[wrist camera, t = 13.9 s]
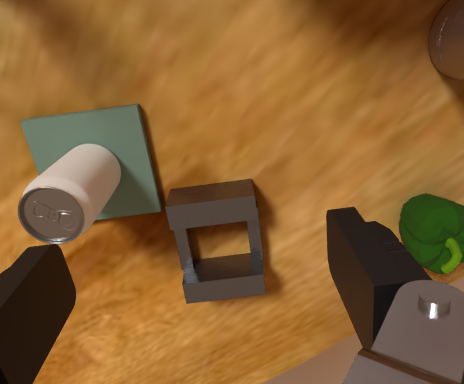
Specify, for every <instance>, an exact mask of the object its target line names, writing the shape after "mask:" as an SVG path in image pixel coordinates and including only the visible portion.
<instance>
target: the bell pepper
mask: <svg viewBox="0 0 464 384" xmlns="http://www.w3.org/2000/svg"><path fill="white" fill-rule="evenodd" d="M400 216H401V219H400V221H399V232H400V235H401V239H402V241H403V244H404V246H405V248H406V250H407V251H409V252H410V254H411V255H412V256H413V257H414V258H415V260H416V261H417V262H418V263H419V264H420V266H422V267H424V268H427V269H429V270H431V271H434V272H436V273H439V274H447V273H449V272H451V271H453V270H455V268H456V267H457V266H458V264H459V263H460V262H464V206H463V205H460V204H457V203H455V202H453V201H450V200H447V199H445V198H441V197H437V196H434V195H430V194H427V193H426V194H421V195H419V196H416V197H412V198H411V199H410V200H409V201H407V202H406V203H405V204H404V205H403V208H402V211H401V215H400Z"/></svg>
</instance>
